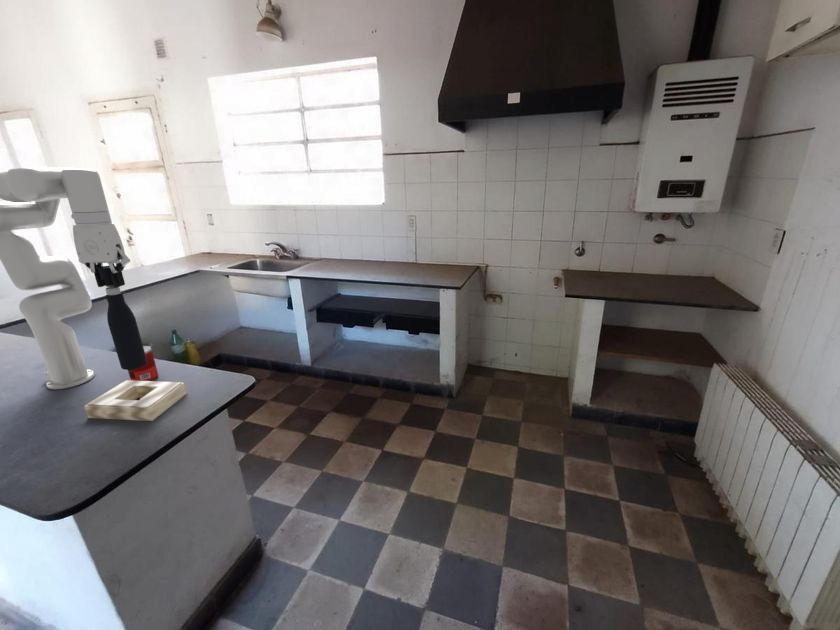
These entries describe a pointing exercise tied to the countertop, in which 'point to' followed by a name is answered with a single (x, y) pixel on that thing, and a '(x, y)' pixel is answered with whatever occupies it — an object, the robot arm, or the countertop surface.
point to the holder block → (126, 407)
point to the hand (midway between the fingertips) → (111, 285)
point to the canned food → (145, 368)
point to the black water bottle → (122, 325)
